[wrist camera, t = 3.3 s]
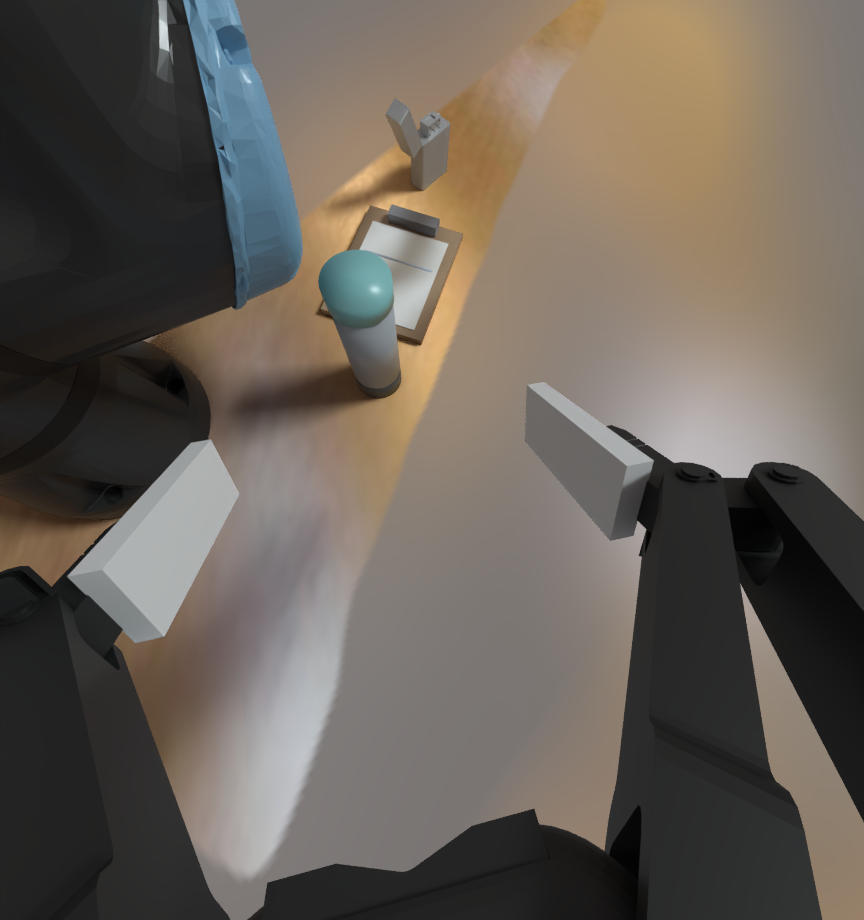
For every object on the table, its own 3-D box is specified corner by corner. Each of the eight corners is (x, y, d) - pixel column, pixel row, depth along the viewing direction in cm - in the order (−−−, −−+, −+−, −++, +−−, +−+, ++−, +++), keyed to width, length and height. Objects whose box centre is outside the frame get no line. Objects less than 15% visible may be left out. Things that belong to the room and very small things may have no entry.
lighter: (435, 161, 38) (440, 62, 30) (447, 170, 37) (455, 72, 30) (391, 198, 36) (383, 104, 28) (403, 207, 36) (399, 115, 28)
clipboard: (322, 312, 33) (317, 301, 31) (371, 211, 36) (368, 195, 34) (421, 344, 32) (421, 334, 31) (462, 238, 35) (464, 224, 34)
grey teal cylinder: (349, 390, 31) (306, 298, 19) (366, 351, 32) (335, 241, 20) (392, 405, 31) (376, 321, 19) (408, 365, 32) (402, 262, 20)
